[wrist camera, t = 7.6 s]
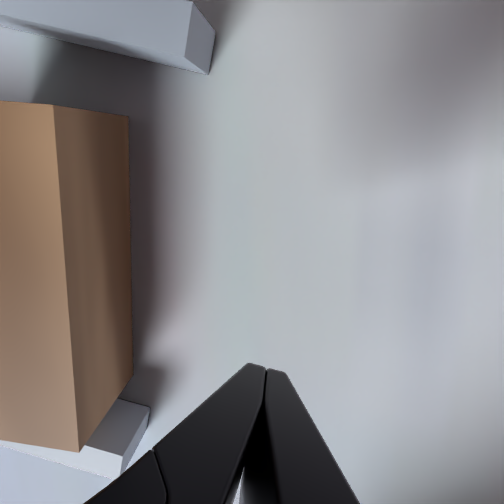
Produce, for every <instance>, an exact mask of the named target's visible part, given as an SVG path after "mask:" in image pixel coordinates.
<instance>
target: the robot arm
mask: <svg viewBox="0 0 504 504" xmlns="http://www.w3.org/2000/svg"><path fill="white" fill-rule="evenodd" d="M242 472H243V474H242ZM241 476H242V480H241V489H240V501H239V504H360V503H359V501H358V499H357V498H356V496H355V494H354V492H353V490H352V489H351V487H350V485H349V483H348V482H347V480H346V478H345V476H344V475H343V473H342V471H341V469H340V468H339V466H338V464H337V462H336V461H335V459H334V457H333V455H332V453H331V452H330V450H329V448H328V446H327V445H326V443H325V441H324V439H323V438H322V436H321V434H320V432H319V431H318V429H317V427H316V425H315V424H314V422H313V420H312V418H311V416H310V415H309V413H308V411H307V409H306V408H305V406H304V404H303V402H302V401H301V399H300V397H299V395H298V394H297V392H296V390H295V388H294V387H293V385H292V383H291V381H290V379H289V378H288V376H287V374H286V373H285V372H282V371H278V370H274V369H271V368H269V369H267V370H266V368H265V367H263V366H260V365H256V364H252V363H247V364H246V365H245V366H243V367H242V368H241V369H240V370H239V371H238V372H237V373H236V374H234V375H233V376H232V377H231V378H230V379H229V380H228V381H227V382H225V383H224V384H223V385H222V386H221V387H220V388H219V389H218V390H217V391H215V392H214V393H213V394H212V395H211V396H210V397H209V398H208V399H206V400H205V401H204V402H203V403H202V404H201V405H200V406H199V407H197V408H196V409H195V410H194V411H193V412H192V413H191V414H190V415H188V416H187V417H186V418H185V419H184V420H183V421H182V422H181V423H179V424H178V425H177V426H176V427H175V428H174V429H173V430H172V431H170V432H169V433H168V434H167V435H166V436H165V437H164V438H163V439H161V440H160V441H159V442H158V443H157V444H156V445H155V446H154V447H153V448H152V450H149V451H148V452H147V453H145V454H144V455H143V456H142V457H141V458H140V459H139V460H138V461H137V462H135V463H134V464H133V465H132V466H131V467H130V468H128V469H127V470H126V471H125V472H124V473H122V474H121V475H120V476H119V477H118V478H116V479H115V480H114V481H113V482H112V483H110V484H109V485H108V486H107V487H105V488H104V489H102V490H101V491H100V492H98V493H97V494H96V495H94V496H93V497H92V498H90V499H89V500H88V501H86V502H85V503H83V504H233V502H234V498H235V495H236V492H237V489H238V486H239V482H240V479H241Z"/></svg>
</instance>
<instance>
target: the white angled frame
mask: <svg viewBox="0 0 504 504" xmlns="http://www.w3.org/2000/svg"><path fill="white" fill-rule="evenodd" d="M0 26H3V27H7V28H12V29H16V30H20V31H24V32H28V33H33V34H37V35H41V36H45V37H50V38H54V39H58V40H62V41H67V42H71V43H75V44H79V45H84V46H88V47H92V48H96V49H100V50H105V51H109V52H113V53H117V54H122V55H126V56H130V57H134V58H139V59H143V60H147V61H151V62H156V63H160V64H164V65H168V66H172V67H177V68H181V69H185V70H189V71H194V72H198V73H202V74H206V75H208V74H209V68H210V62H211V57H212V51H213V45H214V40H215V34H216V32H215V30H214V29H213V28H212V26H211V25H210V24H209V23H208V21H207V20H206V19H205V17H204V16H203V15H202V13H201V12H200V11H199V9H198V8H197V7H196V5H195V4H194V3H193V2H191V1H187V0H0ZM149 411H150V408H149V407H146V406H142V405H139V404H135V403H132V402H128V401H125V400H121V399H118V398H117V399H116V400H115V402H114V403H113V405H112V406H111V408H110V409H109V411H108V412H107V413H106V415H105V416H104V418H103V419H102V421H101V422H100V424H99V425H98V426H97V428H96V429H95V431H94V432H93V434H92V435H91V437H90V438H89V439H88V441H87V442H86V444H85V445H84V447H83V448H82V450H81V451H80V452H79V453H77V452H70V451H64V450H58V449H52V448H46V447H40V446H33V445H27V444H21V443H15V442H9V441H2V440H0V446H2V447H6V448H9V449H12V450H16V451H19V452H22V453H26V454H29V455H33V456H36V457H39V458H43V459H46V460H49V461H53V462H56V463H59V464H63V465H66V466H69V467H73V468H76V469H79V470H83V471H86V472H90V473H93V474H96V475H100V476H103V477H106V478H110V479H113V480H115V479H116V478H118V477H119V476H120V475H121V474H122V473H124V471H125V469H126V467H127V465H128V463H129V461H130V459H131V458H132V456H133V454H134V452H135V450H136V448H137V446H138V444H139V443H140V441H141V439H142V437H143V435H144V433H145V431H146V428H147V422H148V417H149Z"/></svg>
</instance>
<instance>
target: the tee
mask: <svg viewBox="0 0 504 504" xmlns="http://www.w3.org/2000/svg"><path fill="white" fill-rule="evenodd" d="M132 376H133V337H132V285H131V232H130V180H129V128H128V116H123V115H116V114H109V113H103V112H96V111H90V110H83V109H77V108H70V107H64V106H57V105H48V104H36V103H23V102H11V101H0V440H2V441H9V442H15V443H21V444H27V445H33V446H40V447H46V448H52V449H58V450H64V451H70V452H77V453H79V452H80V451H81V450H82V448H83V447H84V445H85V444H86V442H87V441H88V439H89V438H90V437H91V435H92V434H93V432H94V431H95V429H96V428H97V426H98V425H99V424H100V422H101V421H102V419H103V418H104V416H105V415H106V413H107V412H108V411H109V409H110V408H111V406H112V405H113V403H114V402H115V400H116V399H117V398H118V396H119V395H120V393H121V392H122V390H123V389H124V387H125V386H126V385H127V383H128V382H129V380H130V379H131V377H132Z"/></svg>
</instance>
